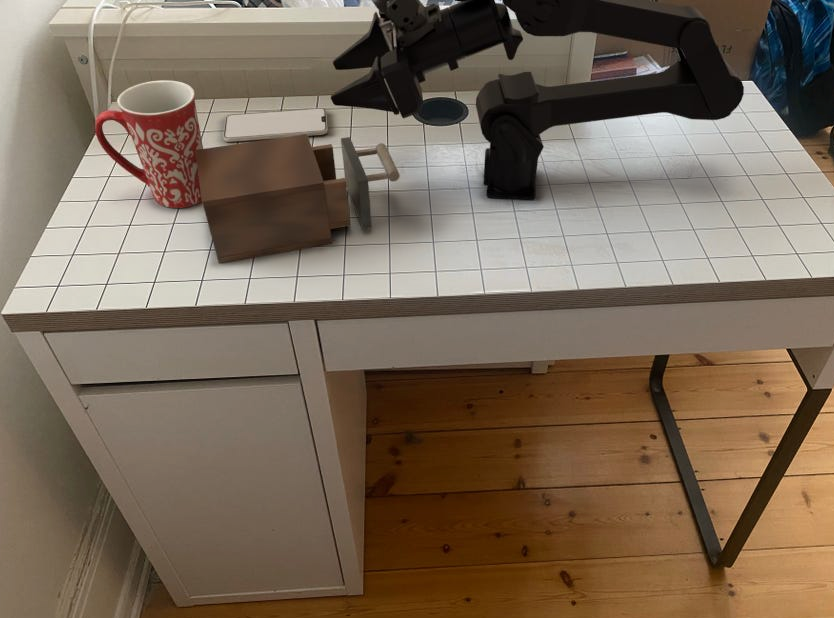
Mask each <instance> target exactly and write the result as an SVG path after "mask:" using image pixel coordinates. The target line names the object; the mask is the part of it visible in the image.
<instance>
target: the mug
mask: <svg viewBox="0 0 834 618" xmlns="http://www.w3.org/2000/svg"><path fill="white" fill-rule="evenodd" d="M195 99H196V92H195V90H194V88H193V87H192V86H191V85H189V84H187V83H185V82H182V81H177V80H169V79H168V80H167V79H163V80H152V81H146V82H142V83H139V84H135V85H132V86H130V87H128V88H127V89H125V90H124V91H122V92H121V93H120V94H119V96H118V97H117V100H116V102H117V103H116V104H117V106H118V108H119V109H120V110H121V111H119V110H105V111H103V112H101V113H99V114H98V116H97V117H96V119H95V122H94V132H95V136H96V139H97V141H98V143H99V145H100V147H101V148H102V150H103V151H104V152H105V153H106V154H107V155H108V157H110V158H111V159H112V160H113V161H114V162H115V163H116V164H118V165H119V166H120V167H121V168H123V169H124V170H125V171H126V172H128V173H129V174H131V175H132V176H133V177H135V178H137V180H139V181H141V182H142V183H144V184H146V185H147V186H148V187H149V188H150V191H151V194H152V196H153V200H154V201H155V202H156V203H157V204H158V205H160V206H163V207H166V208H172V209H183V208H188V207H192V206H195V205H197V204H199V203H202V197H201V190H200V182H199V175H198V167H197V160H196V152H195V150H199V149H204V145H203V139H202V133H201V127H200V124H199V123H200V122H199V118H198V117H199V116H198V112H197V107H196V106H197V105H196V101H195ZM107 121H108V122H109V121H114V122H116V123H118V124H120V125H121V126H122V127H123V128H124V129H125V131H126V132H127V134H128V135H129V136H131V139H132V142H133V145H134V147H135V150H136V152H137V155H138V158H139V161H140V164H141V166H142V168H140V167H138V166H137V165H135V164H134V163H132V162H131V161H130V160H128V159H127V158H126V157H125V156H124V155H122V154H121V153H120V152H119V151H117V149H115V148H114V147H113V146H112V144H111V143H110V142H109V140H108V139H107V137H106V135H105V133H104V130H103V125H104V123H106V122H107Z"/></svg>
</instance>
